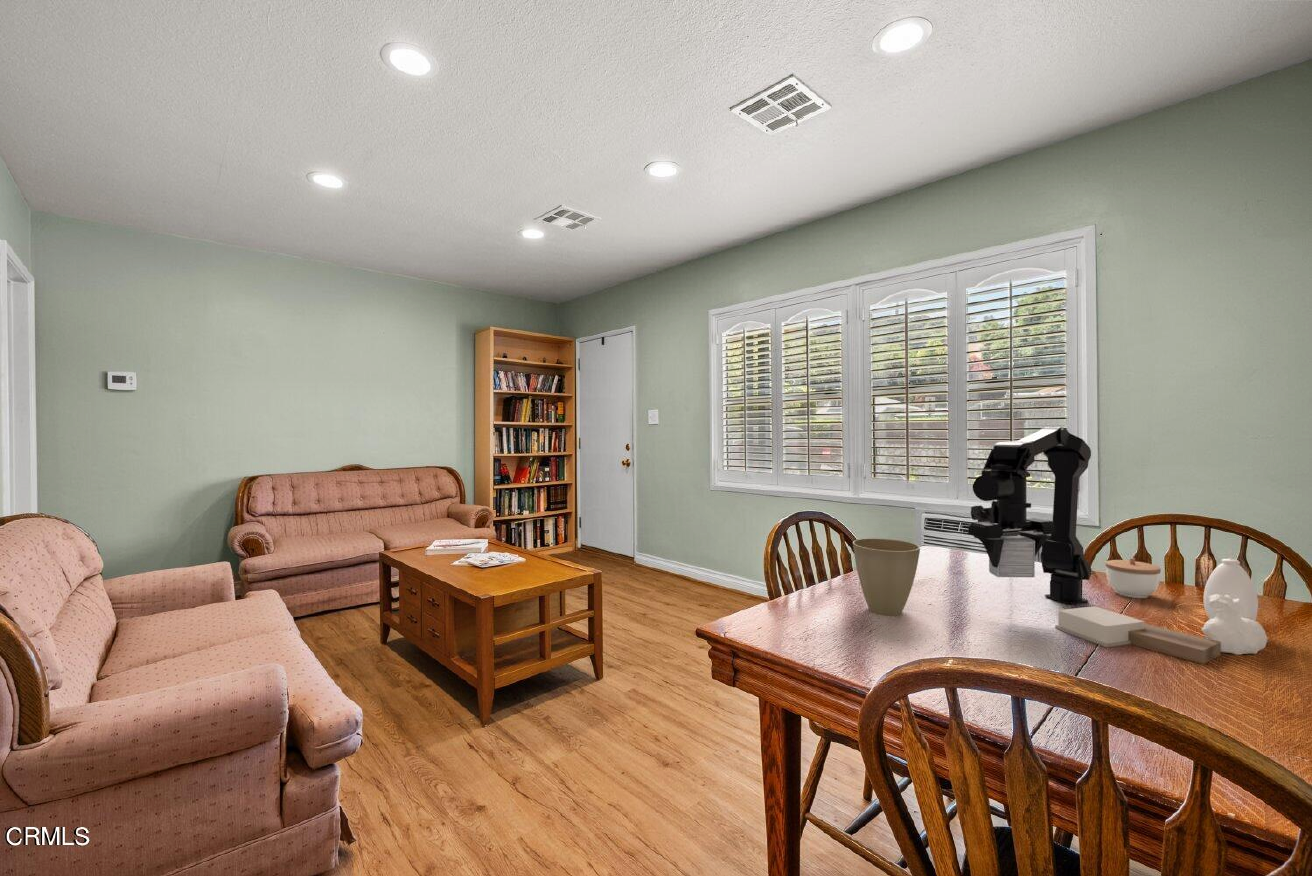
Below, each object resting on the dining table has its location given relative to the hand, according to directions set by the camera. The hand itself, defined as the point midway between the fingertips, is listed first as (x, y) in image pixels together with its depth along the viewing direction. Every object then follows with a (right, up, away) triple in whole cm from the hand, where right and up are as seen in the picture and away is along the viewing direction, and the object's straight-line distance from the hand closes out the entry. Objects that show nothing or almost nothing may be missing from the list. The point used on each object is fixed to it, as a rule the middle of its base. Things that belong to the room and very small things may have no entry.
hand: (1011, 565), depth 127 cm
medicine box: (0, -3, 0) cm, 2 cm away
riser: (+12, -12, -11) cm, 20 cm away
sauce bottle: (+39, -12, -10) cm, 42 cm away
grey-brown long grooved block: (+20, -12, -18) cm, 29 cm away
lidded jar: (+41, -11, +16) cm, 46 cm away
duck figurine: (+31, -12, -19) cm, 38 cm away
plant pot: (-26, -12, +6) cm, 30 cm away
